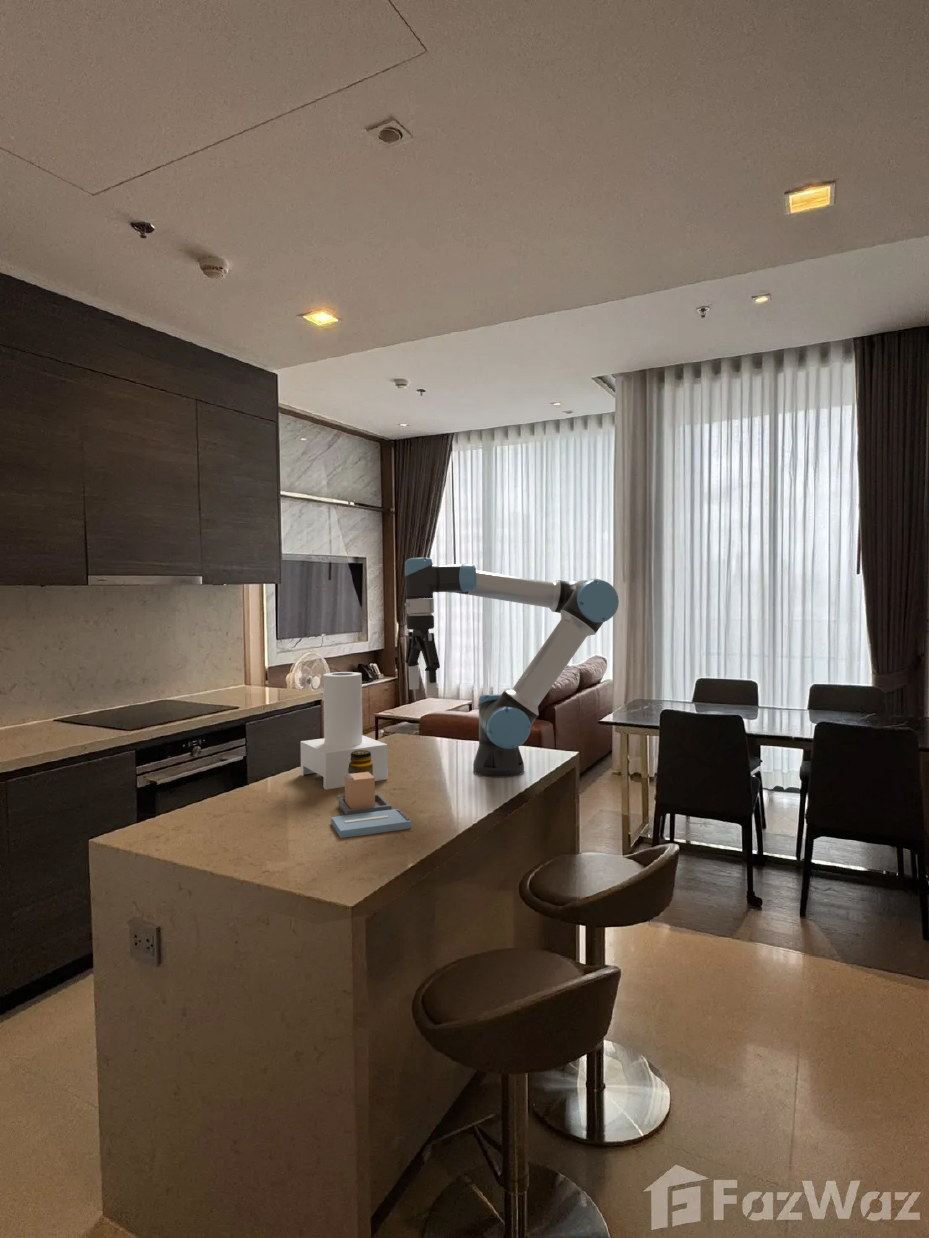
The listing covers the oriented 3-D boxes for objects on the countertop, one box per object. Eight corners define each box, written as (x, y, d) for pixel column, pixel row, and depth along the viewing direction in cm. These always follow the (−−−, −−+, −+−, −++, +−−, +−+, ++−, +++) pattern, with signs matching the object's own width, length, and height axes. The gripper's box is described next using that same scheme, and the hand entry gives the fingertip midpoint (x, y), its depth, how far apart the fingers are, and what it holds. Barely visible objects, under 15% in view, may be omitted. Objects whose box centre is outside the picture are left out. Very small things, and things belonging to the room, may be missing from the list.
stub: (368, 803, 172) (368, 770, 172) (374, 810, 166) (374, 776, 166) (345, 806, 170) (344, 773, 169) (350, 813, 164) (350, 779, 164)
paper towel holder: (387, 779, 197) (386, 674, 196) (326, 789, 187) (324, 679, 186) (359, 765, 213) (358, 669, 212) (300, 775, 202) (299, 673, 201)
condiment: (378, 798, 178) (378, 752, 178) (348, 804, 174) (347, 757, 173) (366, 792, 184) (366, 747, 184) (337, 797, 180) (336, 751, 179)
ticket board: (398, 815, 164) (398, 807, 164) (411, 828, 155) (411, 820, 155) (331, 823, 158) (331, 816, 158) (340, 838, 149) (340, 829, 149)
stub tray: (379, 801, 175) (379, 793, 175) (391, 813, 166) (391, 805, 165) (338, 806, 171) (338, 798, 171) (347, 819, 162) (347, 810, 161)
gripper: (392, 614, 198) (395, 687, 199) (423, 616, 175) (426, 698, 176) (417, 613, 201) (419, 685, 202) (450, 614, 178) (453, 696, 179)
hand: (422, 692), depth 189 cm, fingers open, 13 cm apart
